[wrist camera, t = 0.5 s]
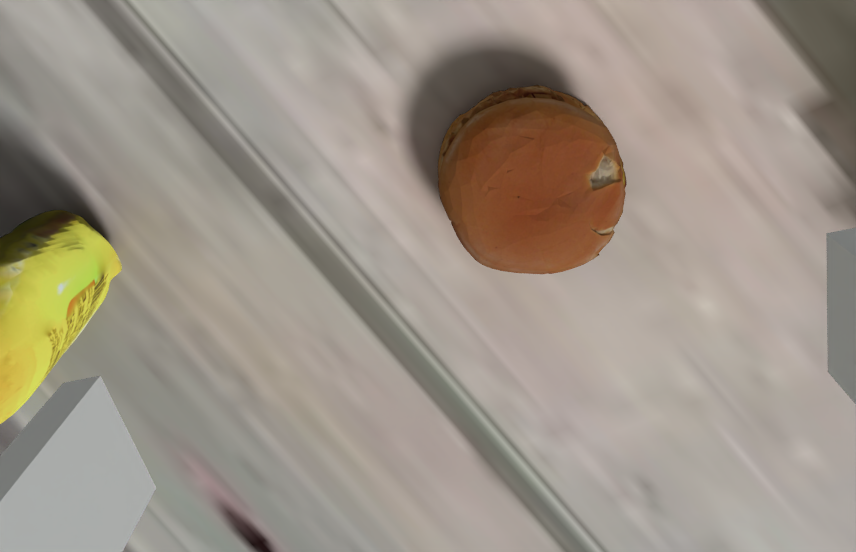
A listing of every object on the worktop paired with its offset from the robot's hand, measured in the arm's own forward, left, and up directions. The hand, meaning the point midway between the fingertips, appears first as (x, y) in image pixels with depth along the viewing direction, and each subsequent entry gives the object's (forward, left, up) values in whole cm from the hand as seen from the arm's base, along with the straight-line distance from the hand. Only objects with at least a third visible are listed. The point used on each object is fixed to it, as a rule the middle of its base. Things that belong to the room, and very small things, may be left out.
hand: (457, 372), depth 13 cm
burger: (+5, +2, -27) cm, 28 cm away
